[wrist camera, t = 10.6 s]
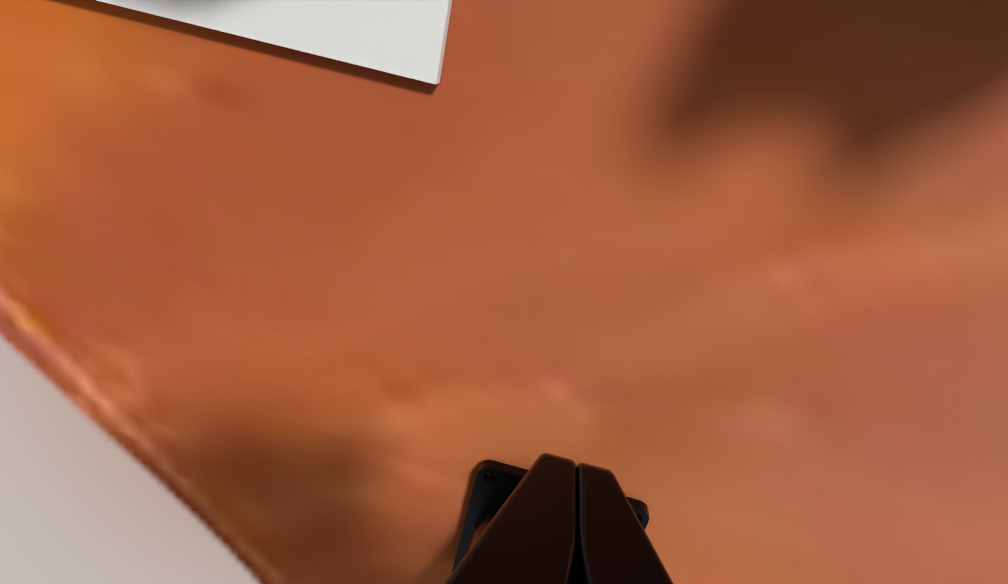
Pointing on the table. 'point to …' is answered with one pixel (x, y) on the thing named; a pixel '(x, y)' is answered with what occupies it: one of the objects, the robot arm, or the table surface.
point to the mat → (328, 28)
